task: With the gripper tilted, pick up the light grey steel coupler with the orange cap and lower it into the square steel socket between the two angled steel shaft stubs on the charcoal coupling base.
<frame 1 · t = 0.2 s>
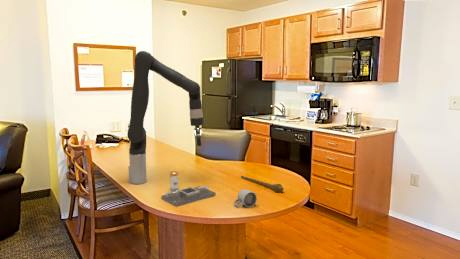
hand: (199, 144, 195), 22 cm above the table, fingers open, 8 cm apart
ceramic mug: (244, 205, 163), on the table
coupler: (174, 190, 184), on the table
coupling base: (188, 197, 173), on the table
torque wrench: (260, 185, 194), on the table
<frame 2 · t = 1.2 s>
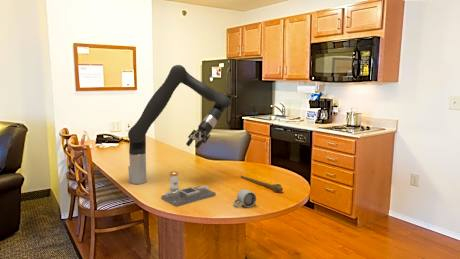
hand: (191, 146, 188), 23 cm above the table, fingers open, 8 cm apart
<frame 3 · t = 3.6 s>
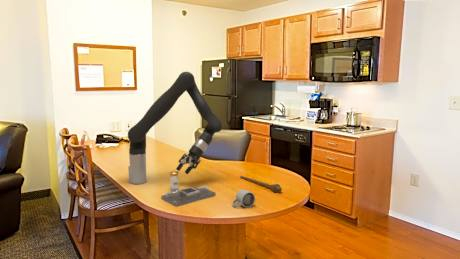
hand: (181, 171, 185), 9 cm above the table, fingers open, 8 cm apart
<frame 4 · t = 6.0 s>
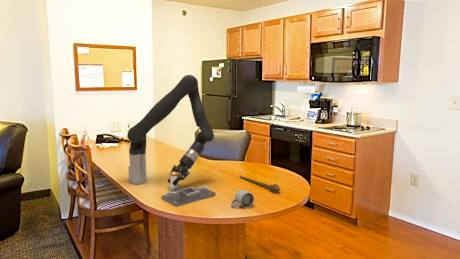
hand: (171, 183, 182), 4 cm above the table, fingers closed on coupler, 4 cm apart
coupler: (174, 190, 183), on the table, touching gripper
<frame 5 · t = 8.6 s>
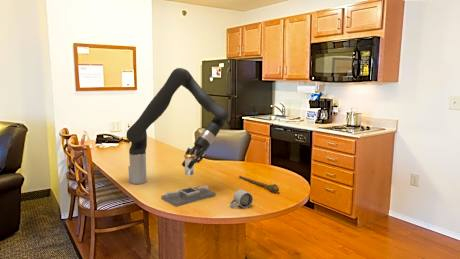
hand: (186, 166, 170), 16 cm above the table, fingers closed on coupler, 4 cm apart
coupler: (189, 173, 172), point 12 cm above the table, touching gripper
when the fingers open (7 cm above the table, at t = 11.3 s): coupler stays where it is, resting on coupling base.
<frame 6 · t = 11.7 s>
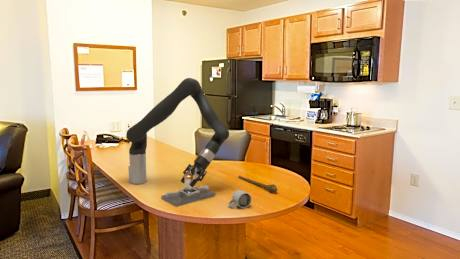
hand: (186, 184, 171), 7 cm above the table, fingers open, 8 cm apart
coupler: (189, 194, 173), point 2 cm above the table, touching coupling base
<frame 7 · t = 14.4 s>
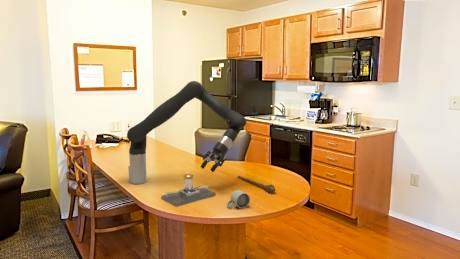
hand: (206, 169, 179), 13 cm above the table, fingers open, 8 cm apart
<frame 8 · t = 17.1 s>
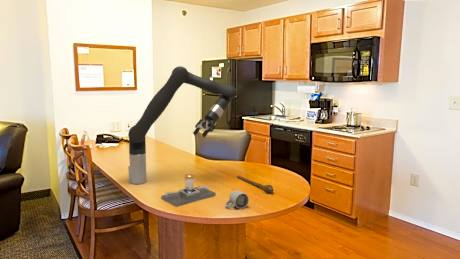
hand: (198, 135, 190), 29 cm above the table, fingers open, 8 cm apart
at the end: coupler 0.1 cm off-centre on the coupling base, point 1.6 cm above the coupling base's base; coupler tilted 2°; the gripper is holding nothing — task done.
